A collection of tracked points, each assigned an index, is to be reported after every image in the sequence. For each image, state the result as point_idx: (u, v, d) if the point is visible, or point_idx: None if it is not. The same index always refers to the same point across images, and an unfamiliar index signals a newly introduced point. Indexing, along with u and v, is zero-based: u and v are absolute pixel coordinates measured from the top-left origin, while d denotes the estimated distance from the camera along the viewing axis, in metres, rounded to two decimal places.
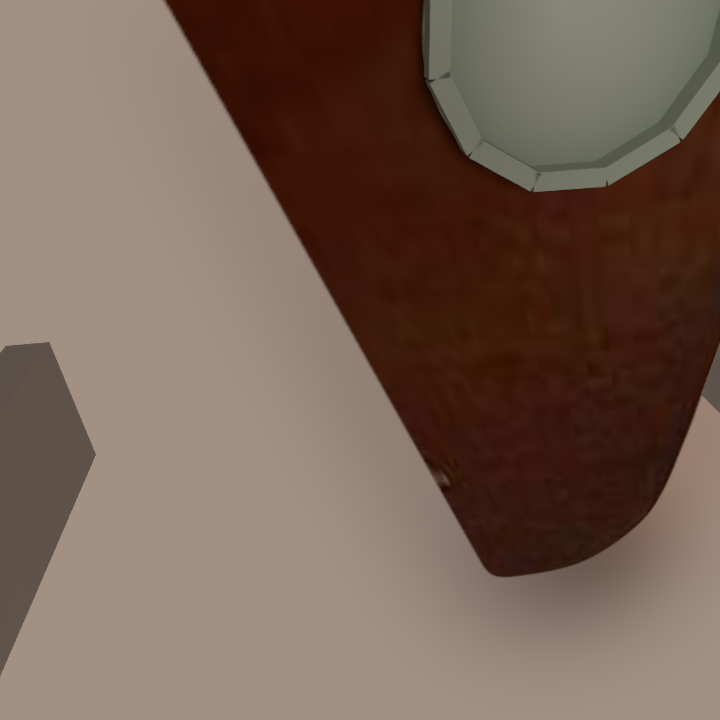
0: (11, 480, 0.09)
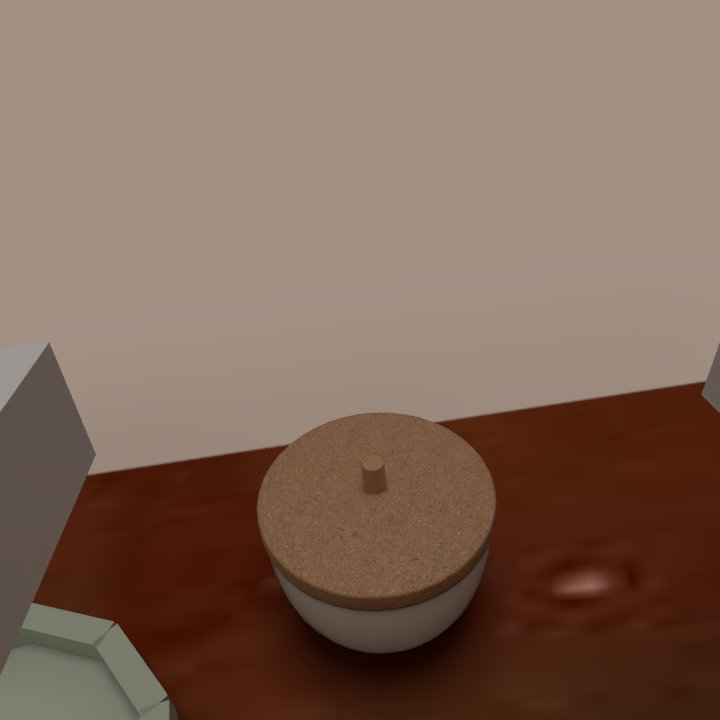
0: (11, 480, 0.09)
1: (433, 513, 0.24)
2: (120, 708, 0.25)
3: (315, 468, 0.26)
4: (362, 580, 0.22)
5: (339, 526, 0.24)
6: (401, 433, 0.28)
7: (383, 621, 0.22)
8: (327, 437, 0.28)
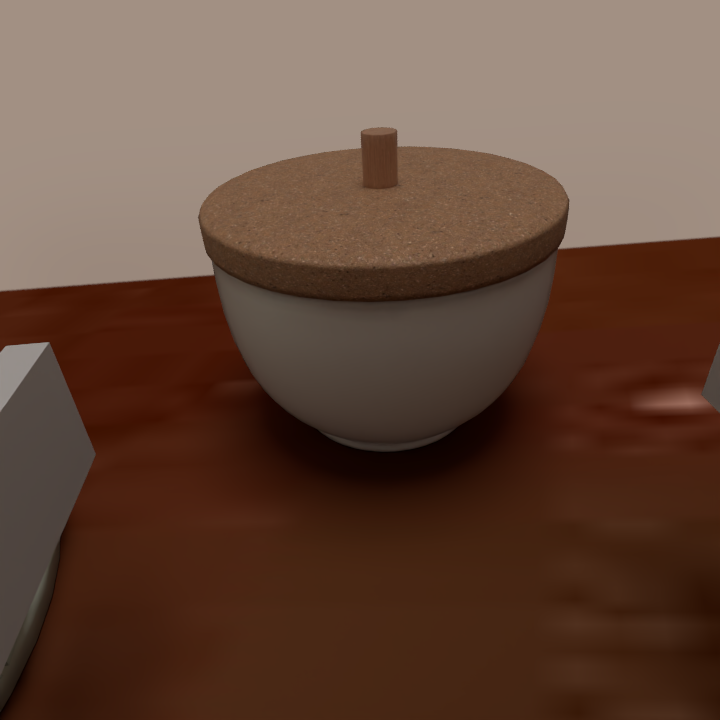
0: (11, 480, 0.09)
1: (469, 200, 0.15)
2: None
3: (295, 174, 0.18)
4: (349, 248, 0.13)
5: (320, 209, 0.15)
6: (424, 154, 0.19)
7: (379, 333, 0.13)
8: (318, 158, 0.20)
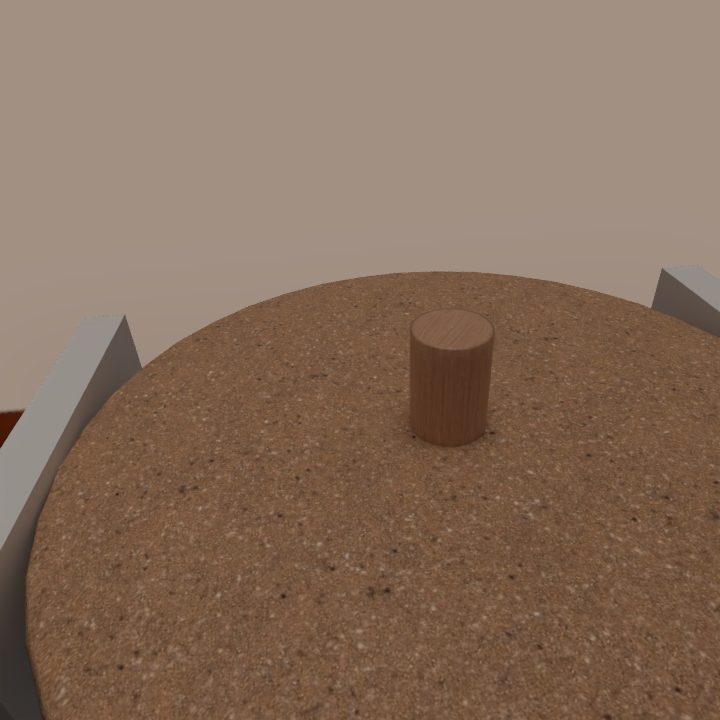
0: None
1: (688, 525, 0.06)
2: None
3: (267, 369, 0.09)
4: None
5: (317, 552, 0.06)
6: (512, 304, 0.10)
7: None
8: (312, 308, 0.11)
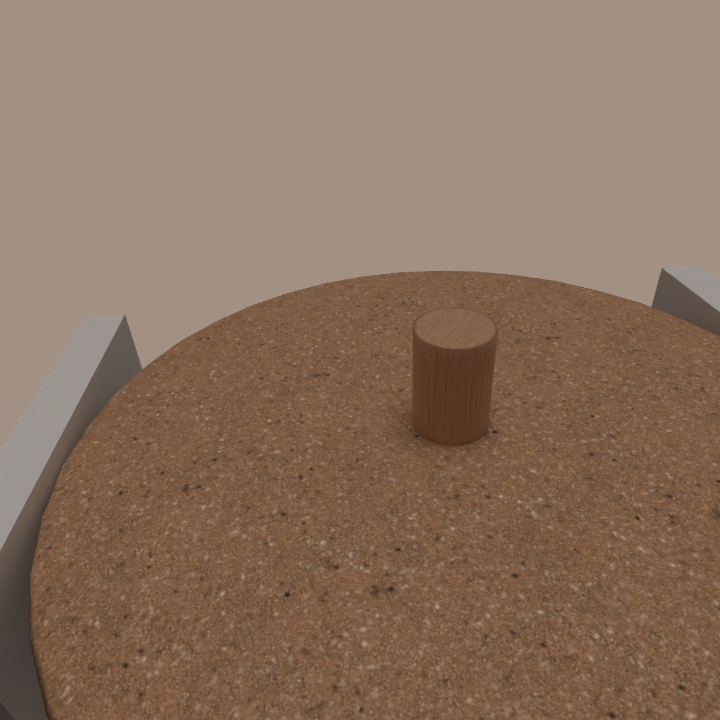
0: None
1: (691, 524, 0.06)
2: None
3: (269, 369, 0.09)
4: None
5: (320, 551, 0.06)
6: (514, 304, 0.10)
7: None
8: (314, 307, 0.11)
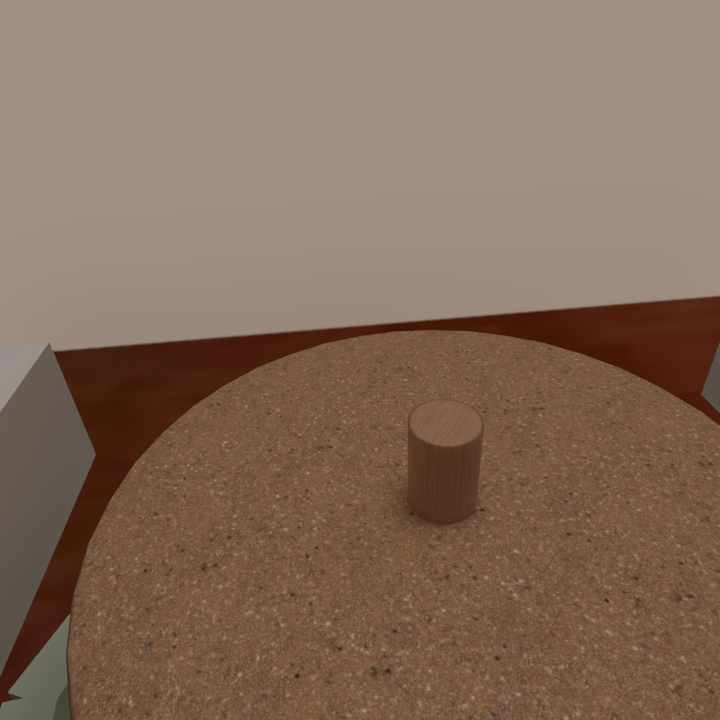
0: (11, 480, 0.09)
1: (654, 606, 0.07)
2: None
3: (277, 440, 0.10)
4: None
5: (326, 632, 0.07)
6: (503, 370, 0.11)
7: None
8: (317, 372, 0.11)
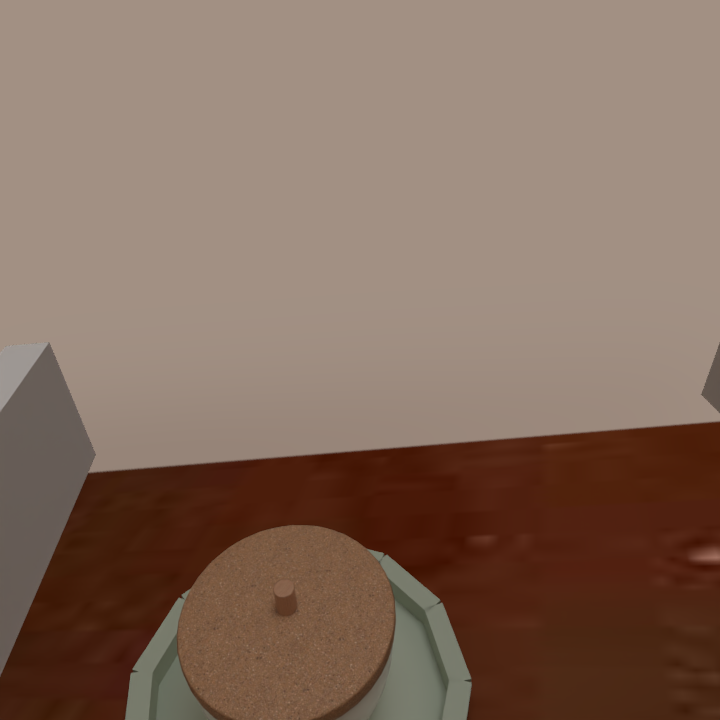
0: (11, 480, 0.09)
1: (332, 641, 0.26)
2: (398, 610, 0.36)
3: (238, 582, 0.29)
4: (256, 707, 0.24)
5: (246, 647, 0.26)
6: (322, 551, 0.30)
7: None
8: (255, 549, 0.31)
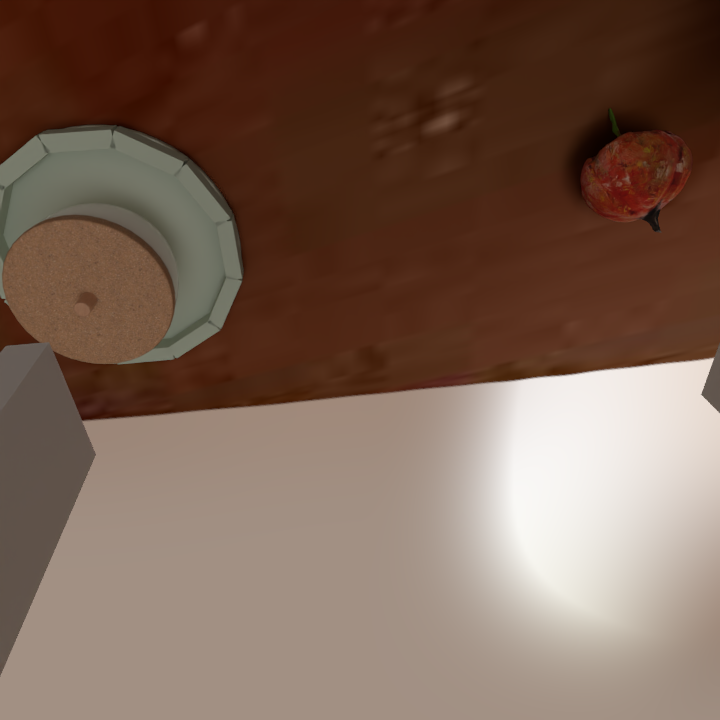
0: (11, 480, 0.09)
1: (136, 309, 0.38)
2: (152, 165, 0.41)
3: (39, 295, 0.37)
4: (118, 356, 0.40)
5: (86, 332, 0.39)
6: (79, 247, 0.35)
7: None
8: (26, 265, 0.36)
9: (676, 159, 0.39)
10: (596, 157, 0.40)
